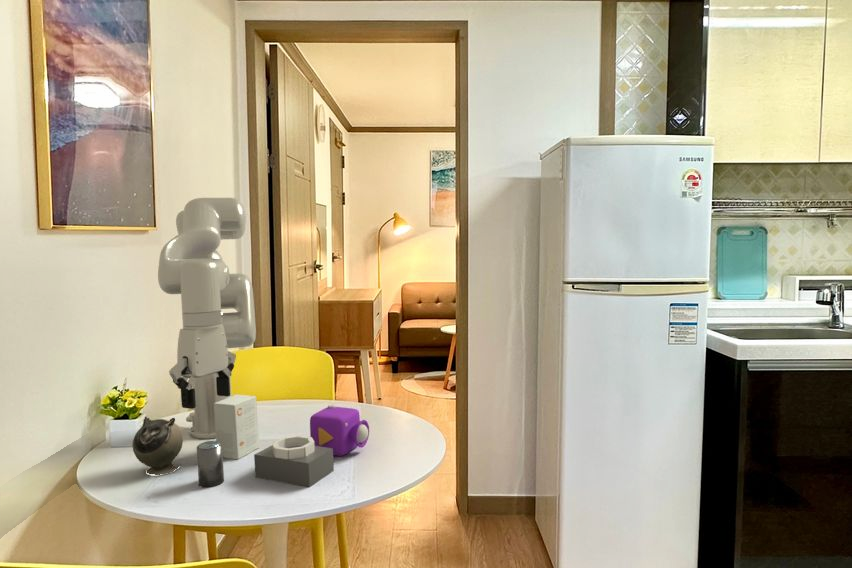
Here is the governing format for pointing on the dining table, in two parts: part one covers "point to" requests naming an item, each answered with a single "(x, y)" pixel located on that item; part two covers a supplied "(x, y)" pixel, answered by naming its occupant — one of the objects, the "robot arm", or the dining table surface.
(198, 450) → the lens
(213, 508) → the dining table surface
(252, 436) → the small box
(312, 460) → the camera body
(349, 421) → the toy camera
